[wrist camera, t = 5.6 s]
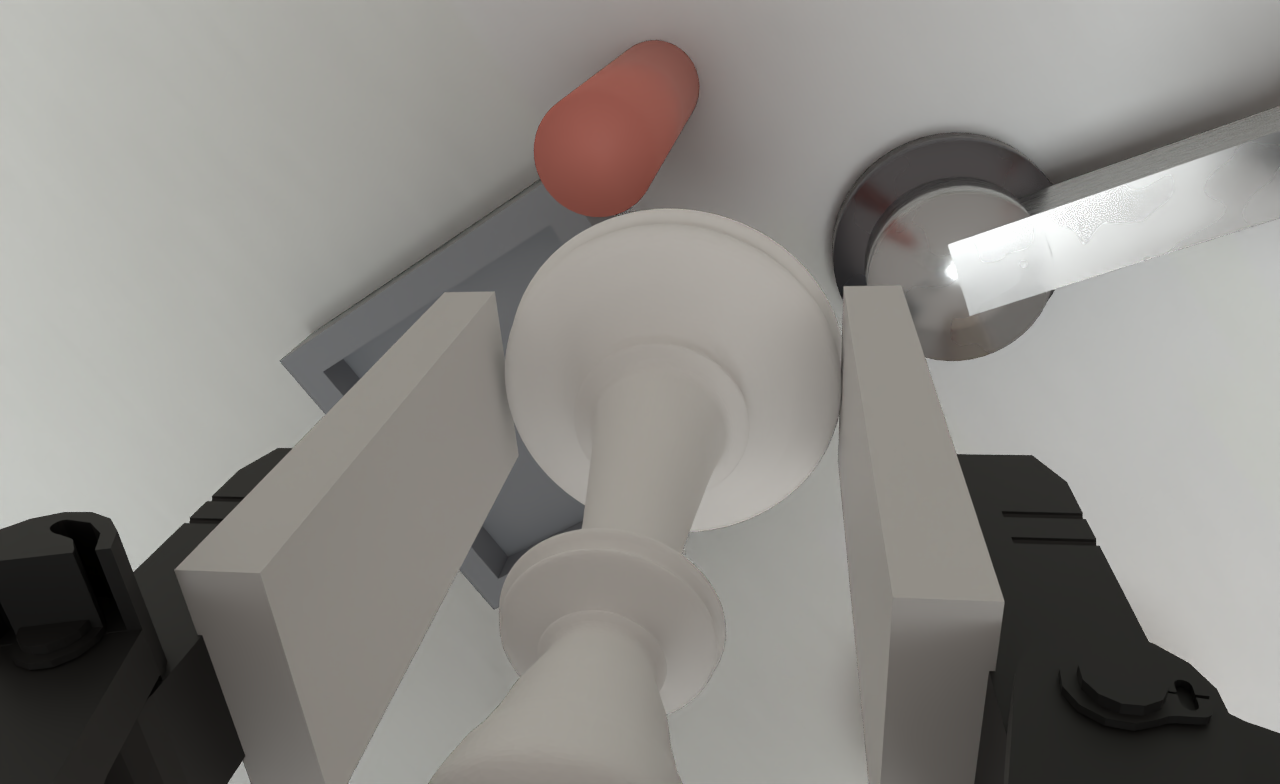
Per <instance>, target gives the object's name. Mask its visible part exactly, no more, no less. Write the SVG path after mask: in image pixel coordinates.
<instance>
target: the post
mask: <svg viewBox="0 0 1280 784" xmlns="http://www.w3.org/2000/svg"><path fill="white" fill-rule="evenodd" d="M698 96H699V79H698V74H697V71H696V69H695V66H694V64H693V63H692V61H691V60H690V58H689V57H688V56H687V55H686V54H685V52H683V51H682V50H681V49H680V48H678V47H677V46H675V45H673V44H671V43H668V42H665V41H659V40H650V41H645V42H641V43H639V44H636V45H634V46H633V47H631V48H630V49H628V50H627V51H626V52H624V53H623V54H622V55H620V56H619V57H618V58H616V59H615V60H614V61H612V62H611V63H610V64H608V65H607V66H606V67H604V68H603V69H602V70H600V71H599V72H598V73H596V74H595V75H594V76H592V77H591V78H590V79H588V80H587V81H586V82H584V83H583V84H582V85H580V86H579V87H578V88H576V89H575V90H574V91H572V92H571V93H570V94H568V95H567V96H566V97H564V98H563V99H562V100H560V101H559V102H558V103H557V104H555V105H554V106H553V107H552V108H551V109H550V110H549V111H548V112H547V113H546V115H545V116H544V118H543V119H542V121H541V123H540V125H539V127H538V130H537V133H536V137H535V142H534V160H535V165H536V169H537V172H538V175H539V177H540V179H541V181H542V183H543V185H544V186H545V188H546V190H547V191H548V192H549V193H550V195H551V196H552V197H553V198H554V199H555V200H556V201H557V202H559V203H560V204H561V205H562V206H564V207H566V208H567V209H569V210H571V211H573V212H575V213H578V214H581V215H584V216H590V217H608V216H612V215H616V214H619V213H622V212H624V211H626V210H627V209H629V208H631V207H632V206H633V205H635V204H636V203H637V202H638V201H639V200H640V199H641V198H642V197H643V195H644V194H645V193H646V191H647V189H648V188H649V186H650V184H651V183H652V181H653V179H654V177H655V176H656V174H657V172H658V171H659V169H660V167H661V165H662V164H663V162H664V160H665V158H666V157H667V155H668V153H669V152H670V150H671V148H672V146H673V145H674V143H675V141H676V139H677V138H678V136H679V134H680V133H681V131H682V129H683V127H684V126H685V124H686V122H687V121H688V119H689V117H690V115H691V114H692V112H693V110H694V108H695V106H696V104H697V100H698Z"/></svg>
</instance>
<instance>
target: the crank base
mask: <svg viewBox="0 0 1280 784" xmlns="http://www.w3.org/2000/svg"><path fill="white" fill-rule="evenodd" d="M947 177H974V178H979V179H983V180H987V181H990V182H992V183H995V184H997V185H999V186H1001V187H1003V188H1005V189H1006V190H1008V191H1009V192H1011V193H1012V194H1013V195H1015V196H1016V197H1017V198H1018V197H1021V196H1024V195H1027V194H1030V193H1033V192H1036V191H1038V190H1041V189H1044V188H1047V187H1050V186H1053V185H1052V184H1051V183H1050V181H1049V180H1048V179H1047V178H1046V177H1045V175H1044V174H1043V173H1042V172H1041V171H1040V170H1039V169H1038V167H1037V166H1036V165H1035V164H1034V163H1033V162H1032V161H1030V160H1029V159H1028V158H1027V157H1026V156H1025V155H1024V154H1022V153H1021V152H1019V151H1018V150H1016V149H1015V148H1013V147H1012V146H1010V145H1008V144H1005V143H1003V142H1001V141H999V140H996V139H993V138H990V137H986V136H983V135H977V134H970V133H945V134H936V135H931V136H927V137H923V138H919V139H917V140H914V141H911V142H908V143H906V144H904V145H902V146H900V147H898V148H896V149H894V150H892V151H890V152H889V153H887V154H886V155H884V156H883V157H881V158H880V159H879V160H877V161H876V162H875V163H874V164H873V165H872V166H870V167H869V168H868V169H867V170H866V171H865V172H864V173H863V175H862V176H861V177H860V178H859V179H858V180H857V181H856V183H855V184H854V186H853V187H852V188H851V190H850V191H849V193H848V195H847V196H846V198H845V200H844V202H843V204H842V206H841V209H840V211H839V214H838V217H837V220H836V224H835V229H834V235H833V262H834V272H835V278H836V283H837V286H838V289H839V292H840V295H841V297H842V299H843V288H844V286H867V283H866V276H865V268H864V264H865V252H866V246H867V243H868V240H869V237H870V234H871V232H872V230H873V228H874V226H875V224H876V223H877V221H878V220H879V218H880V217H881V215H882V214H883V213H884V212H885V210H886V209H887V208H888V207H889V206H890V205H891V204H892V203H893V202H894V201H895V200H897V199H898V198H899V197H901V196H902V195H903V194H905V193H906V192H908V191H910V190H912V189H913V188H915V187H917V186H920V185H922V184H924V183H927V182H930V181H933V180H936V179H941V178H947ZM1054 290H1055V289H1054ZM1054 290H1051V292H1050V295H1049V298H1050V297H1051V295H1052V294H1053V292H1054ZM1049 298H1048V300H1049ZM1048 300H1047V301H1048Z"/></svg>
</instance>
